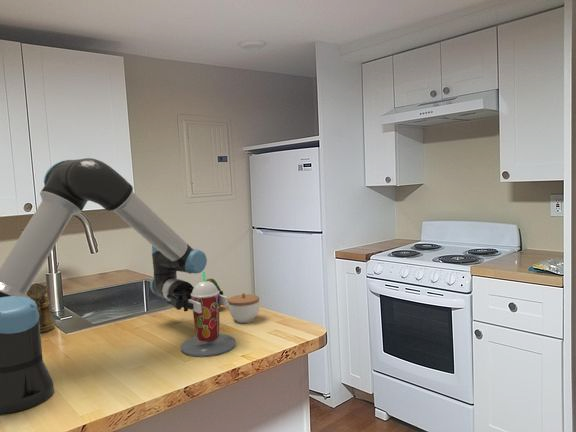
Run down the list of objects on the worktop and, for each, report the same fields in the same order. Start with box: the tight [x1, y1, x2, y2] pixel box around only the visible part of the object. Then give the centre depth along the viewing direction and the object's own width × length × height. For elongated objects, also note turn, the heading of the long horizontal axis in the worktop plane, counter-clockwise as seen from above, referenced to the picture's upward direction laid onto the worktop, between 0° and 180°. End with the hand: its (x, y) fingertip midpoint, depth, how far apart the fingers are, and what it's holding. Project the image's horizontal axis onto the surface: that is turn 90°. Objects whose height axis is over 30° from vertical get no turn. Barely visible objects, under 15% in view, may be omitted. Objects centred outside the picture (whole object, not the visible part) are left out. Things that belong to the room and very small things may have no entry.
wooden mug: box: [26, 283, 56, 334], centre depth 159 cm, size 9×14×18 cm, turn 28°
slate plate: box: [180, 333, 237, 358], centre depth 138 cm, size 16×16×1 cm
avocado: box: [205, 278, 222, 308], centre depth 175 cm, size 8×8×12 cm
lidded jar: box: [228, 292, 260, 324], centre depth 161 cm, size 11×11×9 cm
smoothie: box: [190, 271, 220, 342], centre depth 137 cm, size 8×8×20 cm
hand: (213, 305), depth 133 cm, fingers closed on smoothie, 8 cm apart
